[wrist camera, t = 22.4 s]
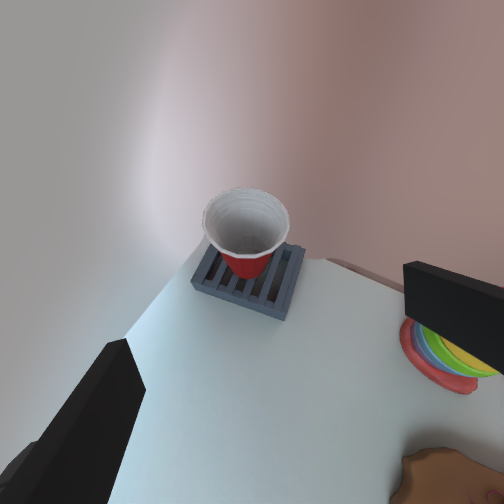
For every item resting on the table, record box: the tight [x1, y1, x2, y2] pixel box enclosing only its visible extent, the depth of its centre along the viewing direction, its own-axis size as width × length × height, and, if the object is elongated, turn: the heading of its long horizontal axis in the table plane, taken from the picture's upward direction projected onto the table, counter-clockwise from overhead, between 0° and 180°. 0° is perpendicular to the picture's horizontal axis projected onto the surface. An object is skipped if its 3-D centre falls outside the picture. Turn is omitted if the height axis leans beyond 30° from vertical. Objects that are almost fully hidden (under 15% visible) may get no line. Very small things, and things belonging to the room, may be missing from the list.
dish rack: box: [190, 242, 306, 321], centre depth 41 cm, size 16×12×4 cm
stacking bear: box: [400, 287, 504, 394], centre depth 28 cm, size 11×10×18 cm
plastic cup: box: [202, 188, 290, 279], centre depth 34 cm, size 11×11×12 cm
